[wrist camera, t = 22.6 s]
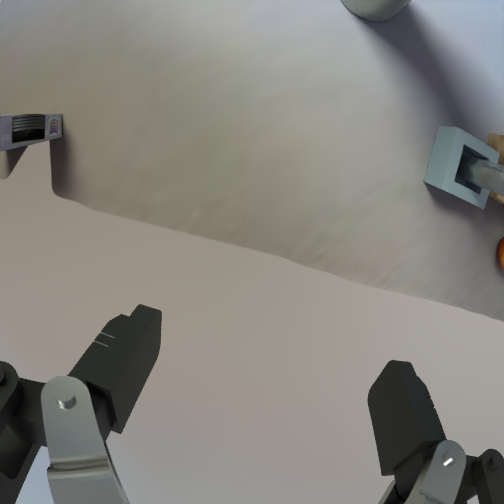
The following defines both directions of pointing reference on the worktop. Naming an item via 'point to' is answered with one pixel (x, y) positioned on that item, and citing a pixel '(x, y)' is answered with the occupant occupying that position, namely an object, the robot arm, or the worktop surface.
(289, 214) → the worktop surface
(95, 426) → the robot arm
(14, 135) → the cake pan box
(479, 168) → the peg
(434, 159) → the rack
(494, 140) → the socket block
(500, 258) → the fruit
